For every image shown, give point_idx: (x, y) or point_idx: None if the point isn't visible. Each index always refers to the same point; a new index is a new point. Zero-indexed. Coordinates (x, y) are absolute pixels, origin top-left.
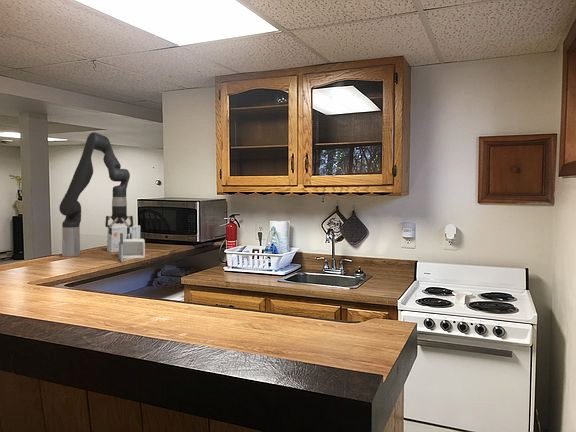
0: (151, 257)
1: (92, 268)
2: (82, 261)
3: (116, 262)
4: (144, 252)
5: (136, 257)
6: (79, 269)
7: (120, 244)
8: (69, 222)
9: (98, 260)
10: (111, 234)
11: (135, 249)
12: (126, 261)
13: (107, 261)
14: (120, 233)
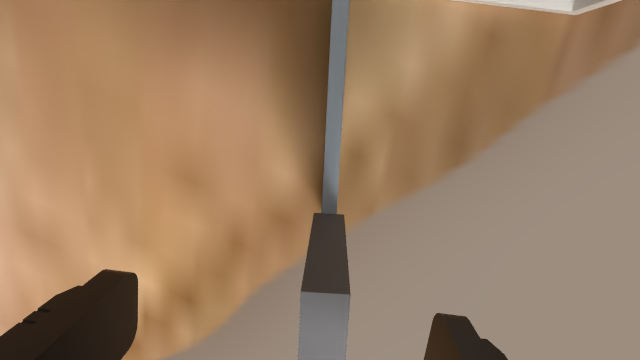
0: (633, 37)
1: None
2: (29, 17)
3: (289, 181)
4: (610, 2)
5: (499, 4)
6: None
7: (323, 175)
8: None
9: (157, 17)
10: (126, 344)
11: None
12: (370, 166)
13: (227, 103)
14: (299, 349)
